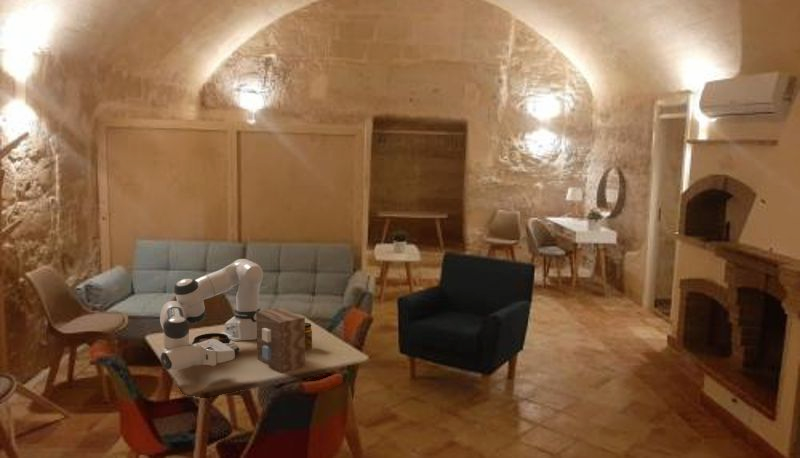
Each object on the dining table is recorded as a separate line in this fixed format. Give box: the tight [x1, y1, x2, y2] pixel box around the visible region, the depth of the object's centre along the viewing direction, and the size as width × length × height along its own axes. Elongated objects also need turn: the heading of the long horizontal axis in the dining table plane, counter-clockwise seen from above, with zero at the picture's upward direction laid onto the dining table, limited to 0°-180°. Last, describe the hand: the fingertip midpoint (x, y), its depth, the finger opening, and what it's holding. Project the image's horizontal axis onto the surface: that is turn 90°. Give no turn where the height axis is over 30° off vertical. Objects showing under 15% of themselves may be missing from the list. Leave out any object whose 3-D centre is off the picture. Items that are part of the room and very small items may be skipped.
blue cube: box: [262, 345, 272, 360], centre depth 275 cm, size 5×5×5 cm
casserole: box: [191, 332, 240, 355], centre depth 288 cm, size 25×19×8 cm
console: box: [256, 307, 306, 373], centre depth 278 cm, size 12×22×22 cm, turn 39°
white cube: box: [262, 328, 271, 342], centre depth 274 cm, size 5×5×5 cm
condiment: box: [305, 322, 316, 352], centre depth 298 cm, size 7×8×12 cm
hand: (235, 345), depth 263 cm, fingers closed
